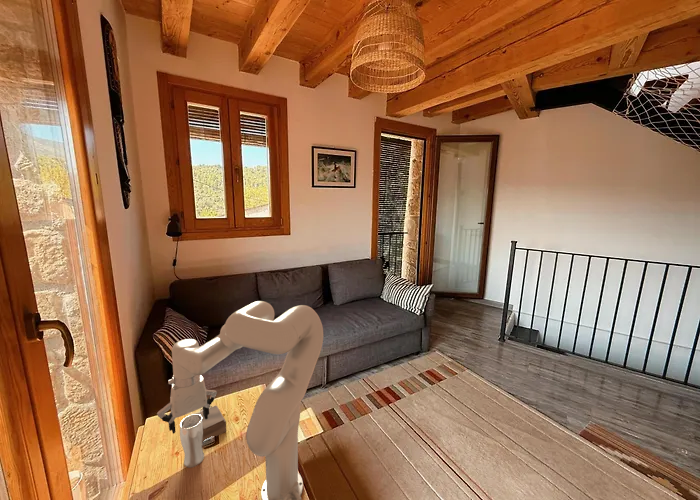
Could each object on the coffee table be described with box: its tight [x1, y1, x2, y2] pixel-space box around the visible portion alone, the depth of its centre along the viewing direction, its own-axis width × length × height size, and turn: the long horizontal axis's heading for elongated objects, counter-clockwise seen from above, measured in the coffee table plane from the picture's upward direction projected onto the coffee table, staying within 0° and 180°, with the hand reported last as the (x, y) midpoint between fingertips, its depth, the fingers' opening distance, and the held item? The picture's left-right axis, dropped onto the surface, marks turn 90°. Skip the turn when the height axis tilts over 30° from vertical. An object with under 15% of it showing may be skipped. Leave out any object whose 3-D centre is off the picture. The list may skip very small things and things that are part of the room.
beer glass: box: [179, 413, 205, 468], centre depth 96 cm, size 7×7×15 cm
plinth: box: [196, 405, 227, 441], centre depth 110 cm, size 11×11×5 cm
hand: (189, 423), depth 95 cm, fingers open, 9 cm apart
